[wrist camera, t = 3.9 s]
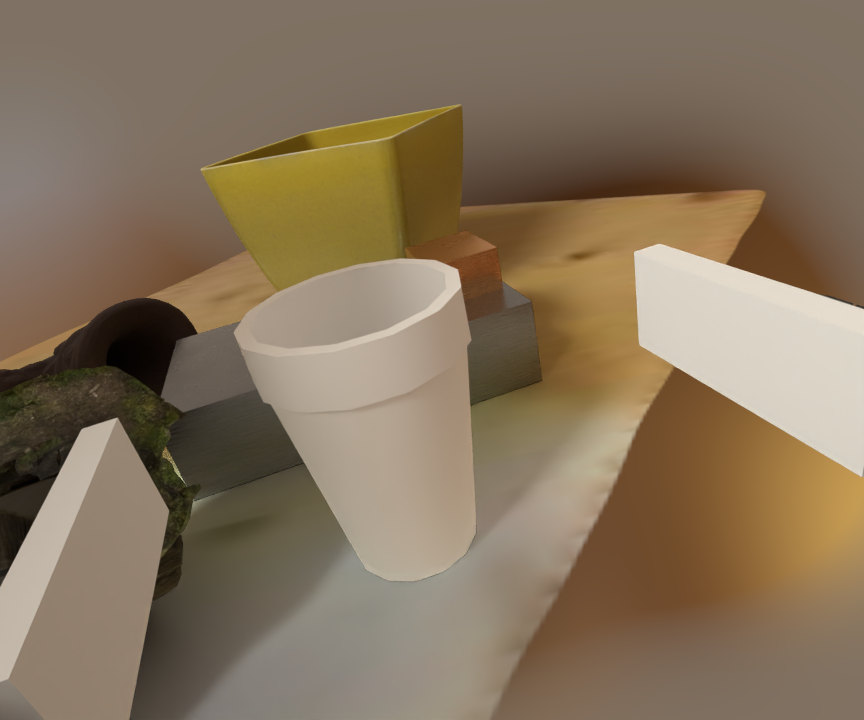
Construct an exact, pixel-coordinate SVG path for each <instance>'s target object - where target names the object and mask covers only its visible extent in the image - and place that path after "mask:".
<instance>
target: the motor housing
mask: <svg viewBox="0 0 864 720" xmlns="http://www.w3.org/2000/svg"><path fill="white" fill-rule="evenodd" d="M405 251H406V255H407V259H424V260H437V261H439V262H441V263H444V264H446V265H449V266H451V267H453V268H456V269H458V272H459V278H460V283H461V288H462V293H463V298H464V304H465V309H466V314H467V319H468V325H469V330H470V335H471V342H470V343H469V344H468V346H467V355H468V374H469V392H470V405H472V404H475V403H478V402H481V401H484V400H486V399H489V398H492V397H495V396H498V395H501V394H504V393H507V392H509V391H512V390H515V389H518V388H521V387H524V386H527V385H530V384H533V383H535V382H538V381H541V380H542V376H541V368H540V361H539V353H538V345H537V338H536V330H535V323H534V315H533V308H532V301H530V300H529V299H528V298H526V297H525V296H523V295H522V294H520V293H519V292H517V291H516V290H514V289H513V288H511V287H510V286H508V285H507V284H506V283H504V282H503V281H502V278H501V272H500V265H499V259H498V252H497V247H495V246H494V245H492V244H490V243H488V242H486V241H485V240H483V239H481V238H479V237H478V236H476V235H474V234H472V233H470V232H469V231H467V230H465V231H462V232H458V233H455V234H451V235H448V236H445V237H441V238H438V239H434V240H431V241H427V242H424V243H420V244H417V245H413V246H410V247H406V248H405ZM240 322H241V321H240ZM240 322H237V323H233V324H230V325H227V326H223V327H220V328H216V329H213V330H210V331H206V332H203V333H200V334H196V335H193V336H189V337H186V338H183V339H179V340H177V341H176V345H175V348H174V352H173V355H172V359H171V362H170V366H169V369H168V373H167V376H166V380H165V384H164V387H163V391H162V394H161V397H162V398H164V399H165V402H168V403H171V404H172V405H174V406H175V407H176V408H178V409H179V410H181V411H182V412H184V413H185V414H186V416H185V418H183V419H180V420H178V421H176V422H174V423H173V424H172V425H171V426H170V427H169V430H170V434H171V438H170V439H169V441H168V443H167V444H166V447H167V449H168V451H169V453H170V455H171V457H172V458H173V460H174V462H175V464H176V466H177V468H178V470H179V472H180V474H181V476H182V478H183V480H184V482H185V484H186V486H187V487H189V486H192V485H196V484H200V486H201V490H200V491H199V492H198V494H197V495H196V496H195V498H194V501H195V500H198V499H201V498H204V497H207V496H209V495H212V494H215V493H218V492H221V491H224V490H227V489H230V488H233V487H235V486H238V485H241V484H244V483H247V482H250V481H253V480H256V479H258V478H261V477H264V476H267V475H270V474H273V473H276V472H279V471H282V470H284V469H287V468H290V467H293V466H296V465H299V464H302V463H304V461H303V460H302V458H301V456H300V455H299V453H298V451H297V449H296V448H295V446H294V444H293V442H292V441H291V439H290V437H289V435H288V434H287V432H286V430H285V428H284V427H283V425H282V423H281V421H280V420H279V418H278V416H277V414H276V413H275V411H274V409H273V407H272V406H271V404H268V403H264V402H263V400H262V398H261V396H260V394H259V392H258V390H257V388H256V386H255V384H254V382H253V380H252V377H251V375H250V372H249V370H248V367H247V365H246V362H245V360H244V357H243V355H242V352H241V350H240V347H239V345H238V342H237V340H236V338H235V335H234V333H233V332H234V331H235V329H236V328H237V327H238V325H239V324H240Z"/></svg>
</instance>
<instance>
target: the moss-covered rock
mask: <svg viewBox="0 0 864 720" xmlns="http://www.w3.org/2000/svg"><path fill="white" fill-rule="evenodd" d="M185 416H186V414H185V413H184V412H182V411H181V410H179V409H178V408H176V407H175V406H174V405H172V404H171V403H168V402H165V399H164V398H162V397H160V396H158V395H157V394H156V393H154V392H153V391H152V390H151V389H150V388H148V387H147V386H145V385H144V384H143V383H141V382H140V381H139V380H137V379H136V378H134V377H133V376H131V375H129V374H127V373H125V372H123V371H122V370H121V369H119V368H117V367H113V366H101V367H97V368H93V369H91V368H81V369H75V370H65V371H63V372H61V373H59V374H56V375H52V376H51V375H48V374H42V375H39V376H37V377H35V378H33V379H31V380H28V381H26V382H23V383H21V384H19V385H17V386H15V387H13V388H11V389H9V390H6V391H4V392H0V577H2V576H5V575H7V573H8V571H9V569H10V567H11V565H12V563H13V561H14V560H15V558H16V556H17V554H18V552H19V550H20V548H21V546H22V544H23V542H24V540H25V538H26V536H27V534H28V532H29V530H30V528H31V527H32V525H33V523H34V521H35V519H36V517H37V515H38V513H39V511H40V509H41V507H42V505H43V503H44V501H45V499H46V497H47V496H48V494H49V492H50V490H51V488H52V486H53V484H54V482H55V480H56V478H57V476H58V474H59V472H60V470H61V468H62V466H63V464H64V463H65V461H66V459H67V457H68V455H69V453H70V451H71V449H72V447H73V445H74V443H75V441H76V439H77V437H78V435H79V433H80V431H81V430H82V429H83V428H87V427H90V426H93V425H96V424H99V423H102V422H105V421H108V420H112V419H115V418H118V419H119V421H120V423H121V425H122V426H123V428H124V430H125V432H126V434H127V435H128V437H129V439H130V441H131V443H132V445H133V446H134V448H135V450H136V452H137V454H138V455H139V457H140V459H141V461H142V463H143V464H144V466H145V468H146V470H147V472H148V473H149V475H150V477H151V479H152V481H153V482H154V484H155V486H156V488H157V490H158V491H159V493H160V495H161V497H162V499H163V500H164V502H165V504H166V506H167V508H168V509H169V514H168V520H167V525H166V530H165V535H164V541H163V546H162V551H161V556H160V561H159V567H158V572H157V577H156V582H155V588H154V593H153V598H152V601H154V600H156V599H158V598H160V597H161V596H163V595H165V594H167V593H168V592H170V591H171V590H172V589H174V588H175V587H176V586H177V584H178V582H179V579H180V577H181V565H182V551H183V542H182V537H181V535H180V534H181V533H182V532H183V530H184V529H185V527H186V525H187V523H188V521H189V519H190V514H191V509H192V503H193V499H194V498H195V496H196V495H197V494H198V492H199V491H200V490H201V486H200V484H196V485H192V486H189V487H187V486H186V485H185V483H184V482H183V481H182V480H181V479H180V477H179V476H178V475H177V474H176V473H175V472H174V468H173V465H172V464H171V463H170V462H169V461H168V460H167V459H165V458H162V452H163V450H164V448H165V446H166V444H167V443H168V441H169V439H170V438H171V434H170V430H169V427H170V426H171V425H172V424H173V423H174V422H176V421H178V420H180V419H183V418H185Z"/></svg>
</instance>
